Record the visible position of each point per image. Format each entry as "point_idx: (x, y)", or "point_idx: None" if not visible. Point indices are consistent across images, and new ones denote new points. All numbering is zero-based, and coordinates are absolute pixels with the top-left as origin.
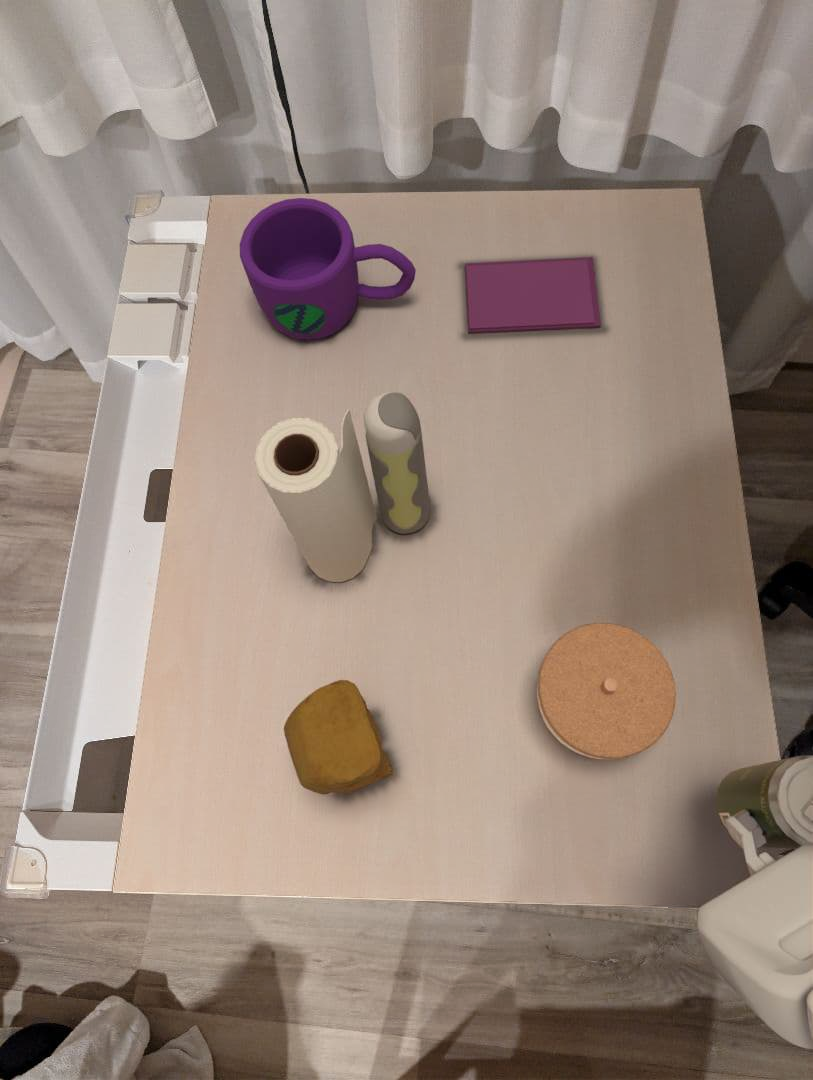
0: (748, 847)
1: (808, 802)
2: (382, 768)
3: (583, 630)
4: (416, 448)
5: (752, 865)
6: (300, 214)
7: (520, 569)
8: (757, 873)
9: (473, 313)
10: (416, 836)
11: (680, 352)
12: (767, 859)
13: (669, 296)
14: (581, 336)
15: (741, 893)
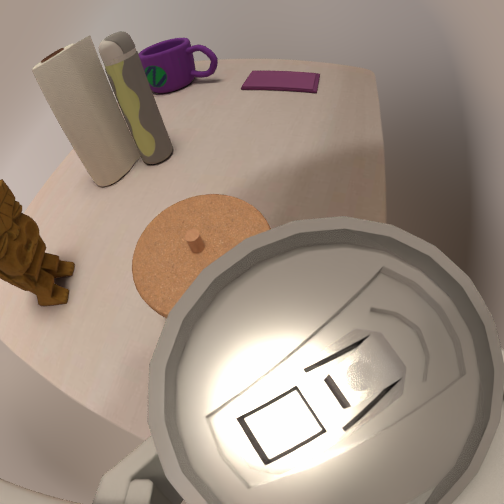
0: (137, 455)
1: (283, 379)
2: (13, 264)
3: (202, 197)
4: (126, 63)
5: (103, 487)
6: (174, 44)
7: (210, 190)
8: (61, 502)
9: (246, 82)
10: (61, 348)
11: (361, 108)
12: (135, 496)
13: (358, 90)
14: (304, 94)
15: (2, 500)
